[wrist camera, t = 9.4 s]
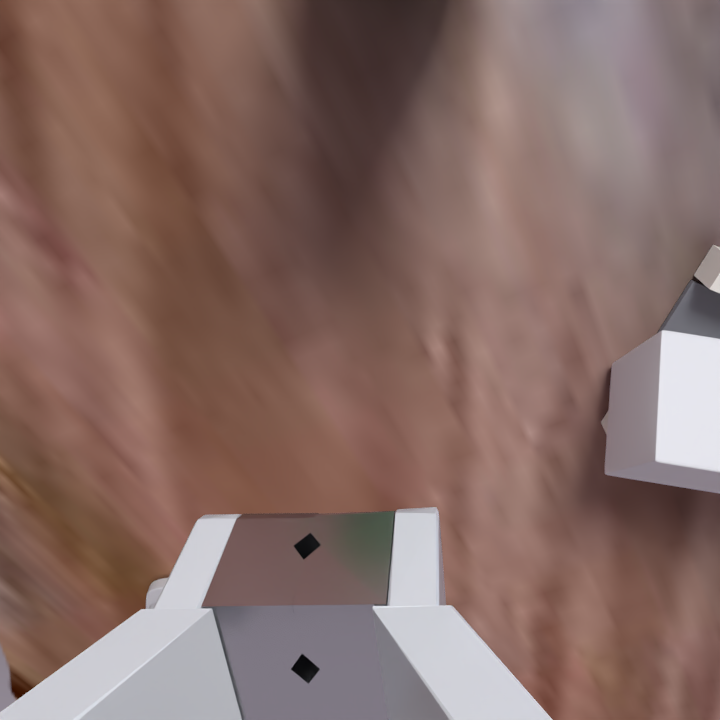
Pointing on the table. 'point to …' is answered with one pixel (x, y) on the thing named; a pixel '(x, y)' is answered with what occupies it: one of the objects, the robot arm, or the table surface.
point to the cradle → (696, 305)
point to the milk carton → (666, 412)
